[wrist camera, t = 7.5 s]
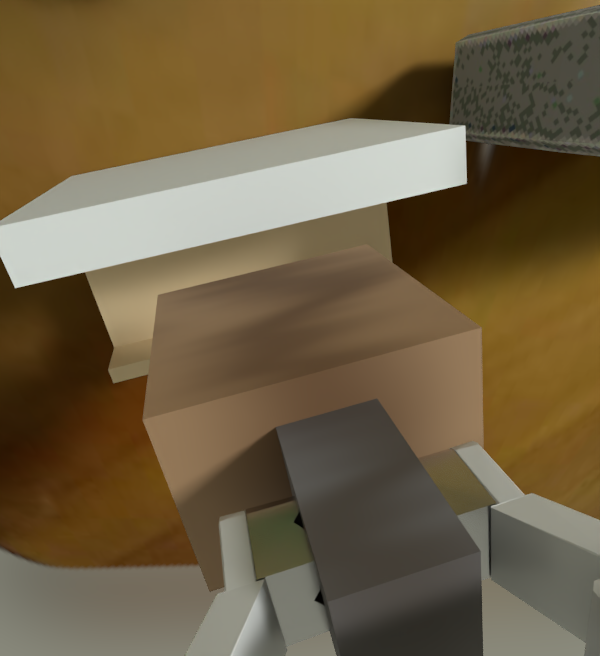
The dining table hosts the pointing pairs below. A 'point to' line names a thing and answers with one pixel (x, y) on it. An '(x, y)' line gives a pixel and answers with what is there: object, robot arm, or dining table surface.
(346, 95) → the dining table surface
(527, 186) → the dining table surface
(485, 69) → the decorative stone tablet
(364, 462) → the block with grey handle
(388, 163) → the white wooden bench shape
